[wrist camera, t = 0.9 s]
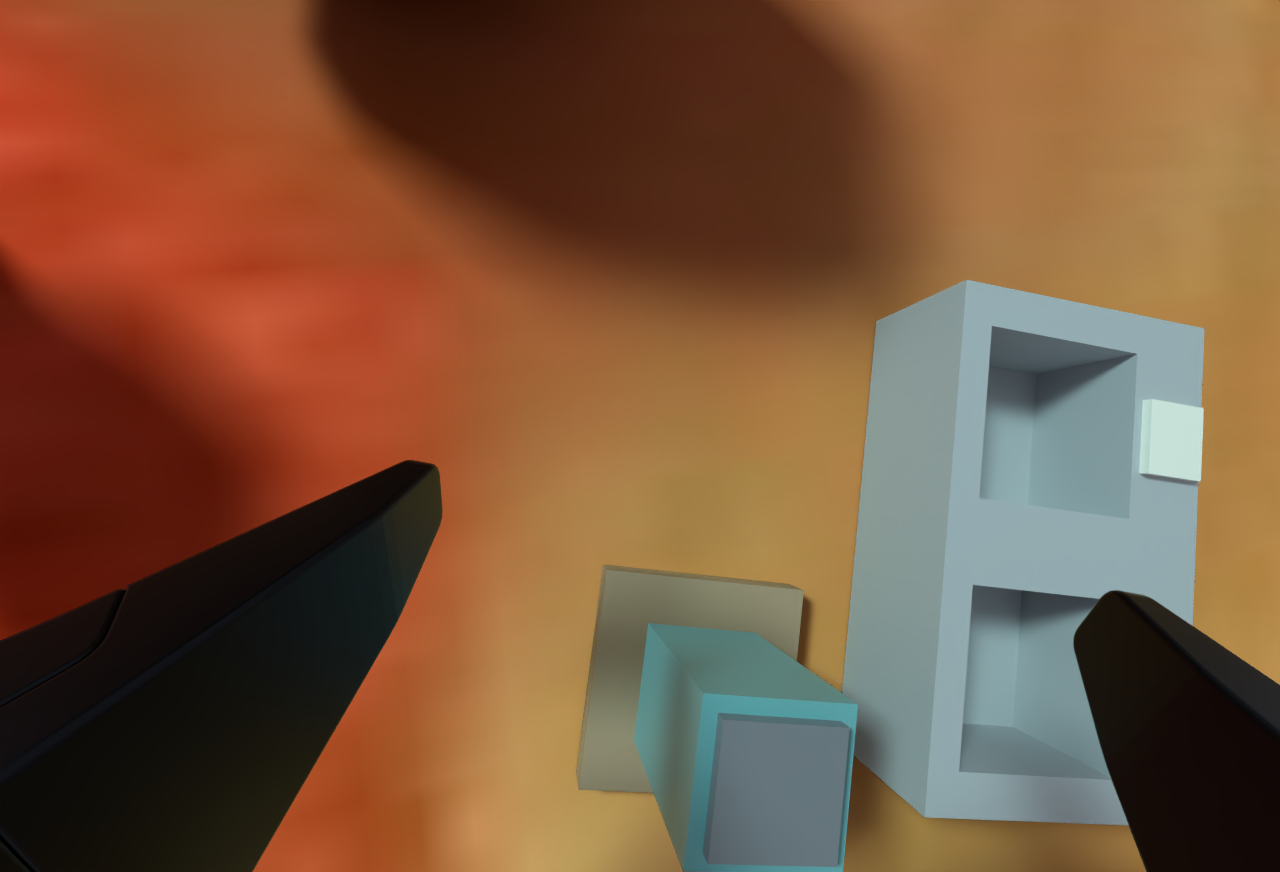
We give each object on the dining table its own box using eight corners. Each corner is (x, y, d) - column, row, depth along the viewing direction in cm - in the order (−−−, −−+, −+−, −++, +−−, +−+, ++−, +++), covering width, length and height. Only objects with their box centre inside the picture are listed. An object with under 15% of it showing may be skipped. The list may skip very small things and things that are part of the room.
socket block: (1048, 754, 23) (1194, 832, 18) (837, 741, 22) (931, 823, 17) (1072, 357, 25) (1214, 326, 20) (876, 321, 23) (973, 276, 18)
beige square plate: (769, 780, 21) (783, 798, 20) (576, 771, 20) (578, 789, 19) (789, 584, 22) (804, 590, 21) (603, 564, 21) (607, 569, 20)
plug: (743, 747, 20) (851, 885, 13) (633, 740, 20) (687, 882, 13) (755, 632, 21) (867, 710, 14) (648, 623, 20) (708, 699, 13)
